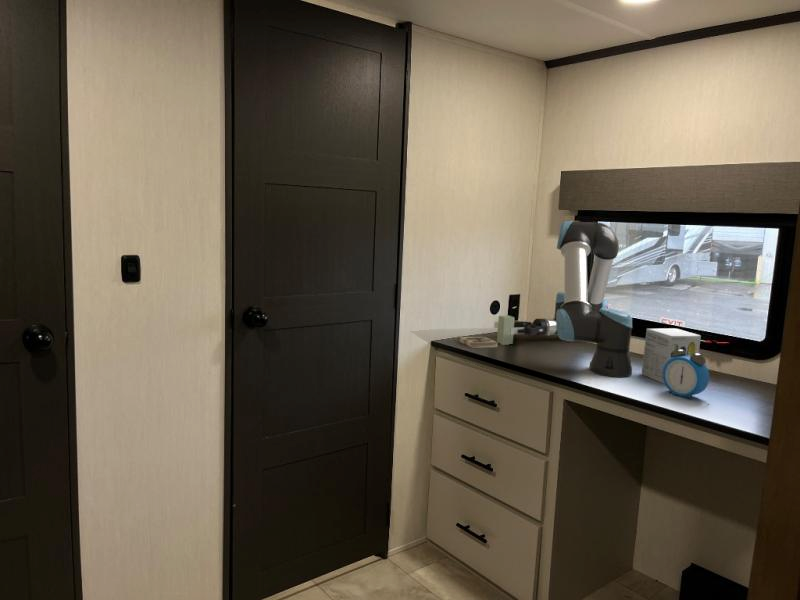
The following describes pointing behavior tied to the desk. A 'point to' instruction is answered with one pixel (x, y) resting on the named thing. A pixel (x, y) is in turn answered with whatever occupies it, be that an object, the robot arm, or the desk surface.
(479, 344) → the letter tile
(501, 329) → the sage pillar
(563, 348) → the desk surface
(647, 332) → the supplement box
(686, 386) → the alarm clock
